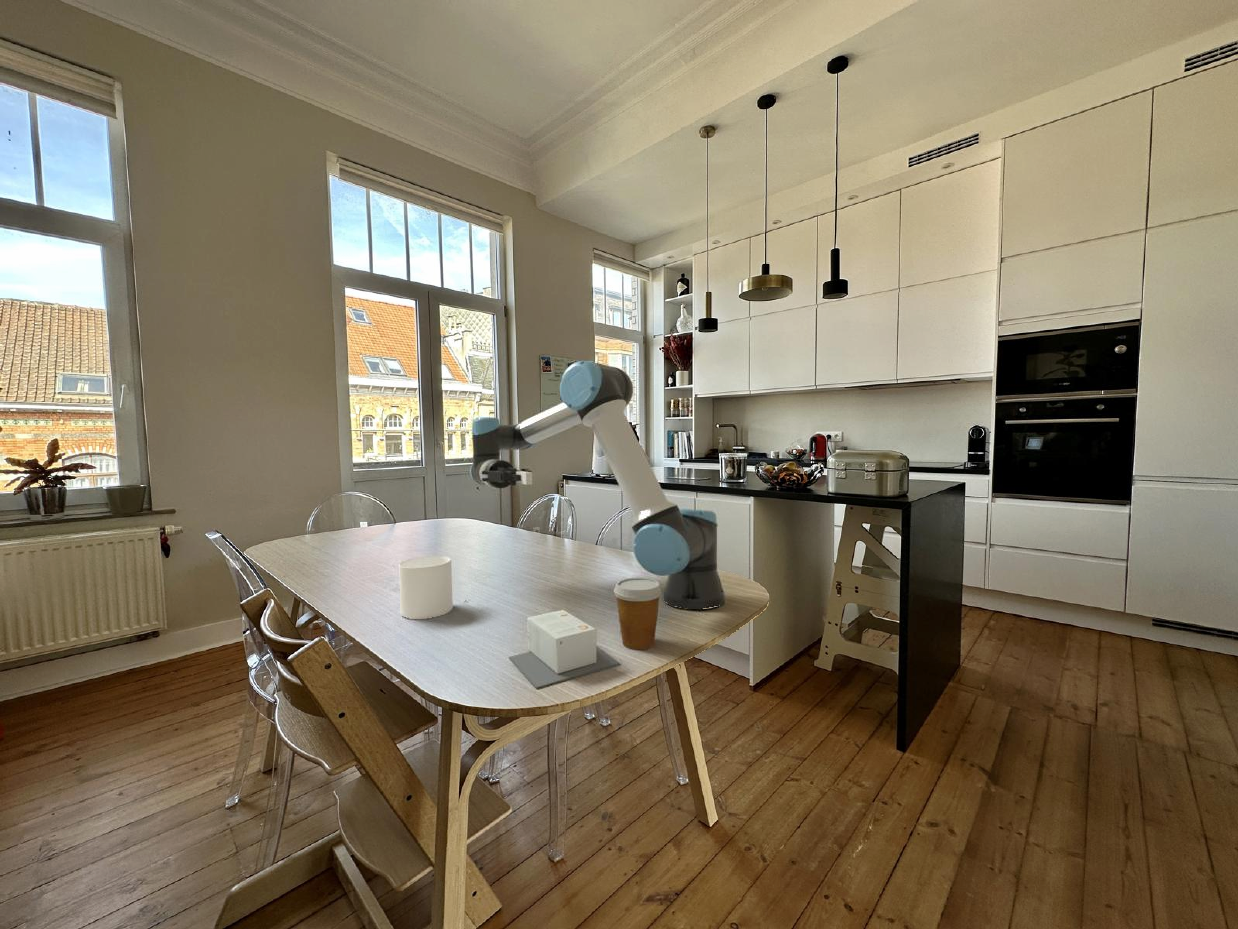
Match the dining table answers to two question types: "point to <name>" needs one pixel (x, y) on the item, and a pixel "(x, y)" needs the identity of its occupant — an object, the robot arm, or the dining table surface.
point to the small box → (561, 641)
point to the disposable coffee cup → (638, 611)
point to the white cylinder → (425, 587)
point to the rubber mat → (546, 676)
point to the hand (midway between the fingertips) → (529, 478)
